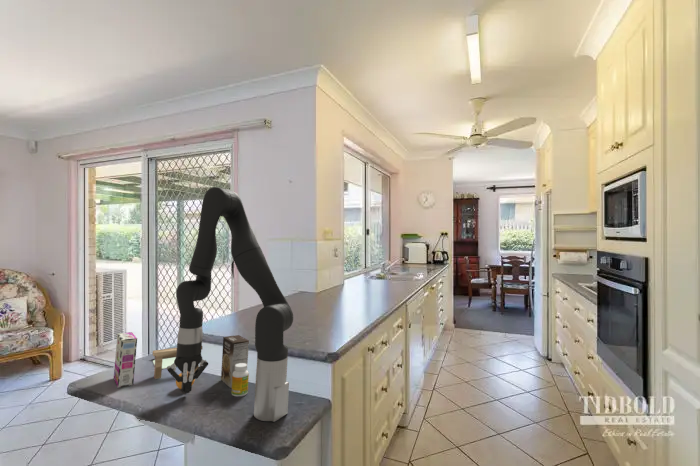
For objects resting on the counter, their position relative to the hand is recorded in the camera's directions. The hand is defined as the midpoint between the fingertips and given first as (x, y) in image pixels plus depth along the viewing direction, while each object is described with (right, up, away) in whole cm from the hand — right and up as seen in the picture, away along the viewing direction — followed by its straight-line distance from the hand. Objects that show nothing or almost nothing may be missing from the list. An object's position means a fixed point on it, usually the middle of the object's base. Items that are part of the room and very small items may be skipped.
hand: (186, 392), depth 111 cm
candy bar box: (-27, -1, +9) cm, 29 cm away
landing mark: (-21, -2, +30) cm, 36 cm away
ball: (-3, +2, +6) cm, 7 cm away
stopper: (-26, -2, +36) cm, 44 cm away
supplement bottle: (+16, -2, +4) cm, 17 cm away
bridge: (-13, -2, +18) cm, 22 cm away
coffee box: (+11, -3, +13) cm, 17 cm away
